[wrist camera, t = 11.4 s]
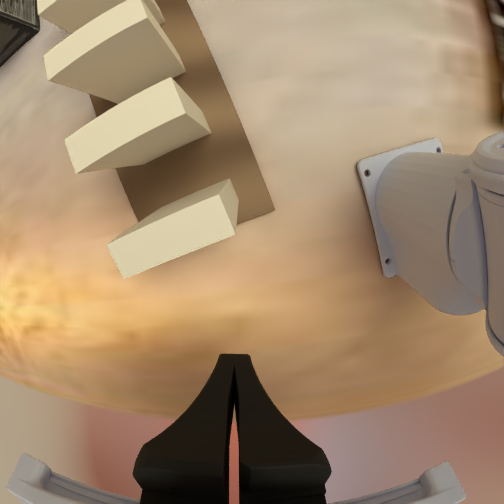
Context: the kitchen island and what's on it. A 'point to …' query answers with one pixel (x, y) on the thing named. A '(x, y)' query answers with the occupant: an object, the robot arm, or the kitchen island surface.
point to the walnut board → (205, 148)
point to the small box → (16, 25)
